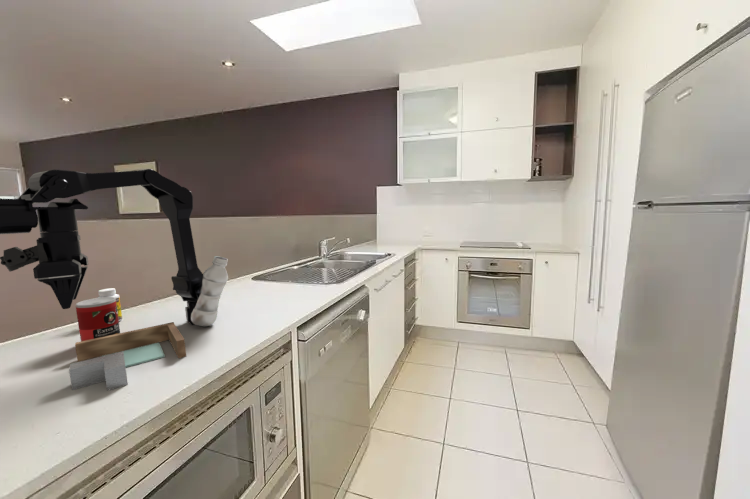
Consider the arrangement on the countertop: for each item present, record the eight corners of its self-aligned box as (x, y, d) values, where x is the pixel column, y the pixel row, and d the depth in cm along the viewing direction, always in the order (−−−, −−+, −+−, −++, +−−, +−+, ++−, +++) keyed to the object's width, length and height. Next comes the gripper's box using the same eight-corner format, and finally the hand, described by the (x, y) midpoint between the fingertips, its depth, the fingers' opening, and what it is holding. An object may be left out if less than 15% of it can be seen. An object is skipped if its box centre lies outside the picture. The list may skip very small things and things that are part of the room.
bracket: (125, 369, 66) (123, 351, 65) (127, 384, 60) (125, 364, 59) (73, 383, 61) (70, 364, 60) (69, 401, 55) (66, 380, 54)
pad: (159, 343, 79) (158, 342, 79) (164, 357, 71) (164, 355, 71) (101, 357, 72) (101, 356, 72) (100, 374, 64) (100, 372, 64)
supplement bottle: (116, 324, 94) (111, 291, 93) (94, 326, 93) (90, 292, 92) (126, 318, 100) (122, 286, 99) (106, 320, 99) (101, 288, 97)
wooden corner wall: (175, 336, 83) (173, 321, 83) (186, 356, 71) (184, 339, 71) (78, 359, 71) (75, 342, 71) (72, 387, 59) (69, 367, 59)
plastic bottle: (219, 327, 92) (238, 262, 91) (198, 330, 86) (219, 261, 85) (204, 318, 94) (223, 255, 93) (183, 321, 88) (203, 253, 87)
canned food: (98, 349, 76) (92, 305, 75) (72, 347, 78) (66, 304, 77) (128, 337, 84) (123, 297, 82) (104, 335, 85) (99, 296, 84)
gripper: (15, 232, 68) (25, 302, 70) (-16, 235, 54) (-1, 324, 56) (84, 229, 75) (92, 293, 77) (73, 232, 61) (84, 310, 62)
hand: (69, 303), depth 68 cm, fingers open, 9 cm apart
